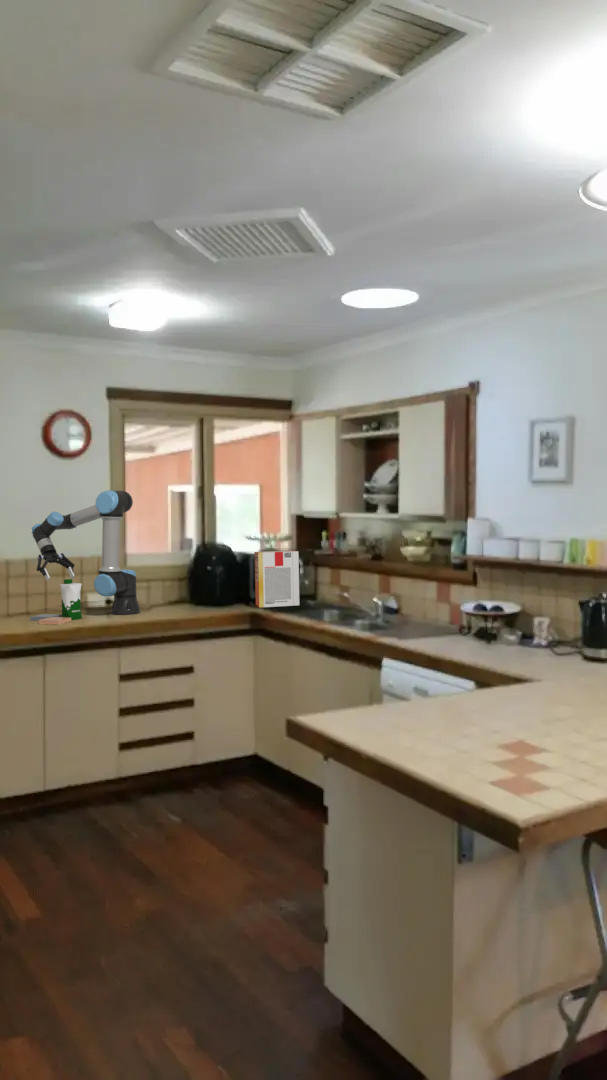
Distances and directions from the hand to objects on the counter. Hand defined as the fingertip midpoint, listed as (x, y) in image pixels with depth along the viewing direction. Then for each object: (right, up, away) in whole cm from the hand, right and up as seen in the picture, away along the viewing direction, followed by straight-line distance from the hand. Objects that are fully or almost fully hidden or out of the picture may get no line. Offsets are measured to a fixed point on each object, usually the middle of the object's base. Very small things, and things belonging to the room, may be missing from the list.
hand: (61, 578), depth 438 cm
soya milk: (+7, -20, -7) cm, 23 cm away
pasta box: (+110, -17, +35) cm, 117 cm away
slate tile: (-6, -20, -7) cm, 22 cm away
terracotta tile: (+3, -21, -19) cm, 29 cm away
